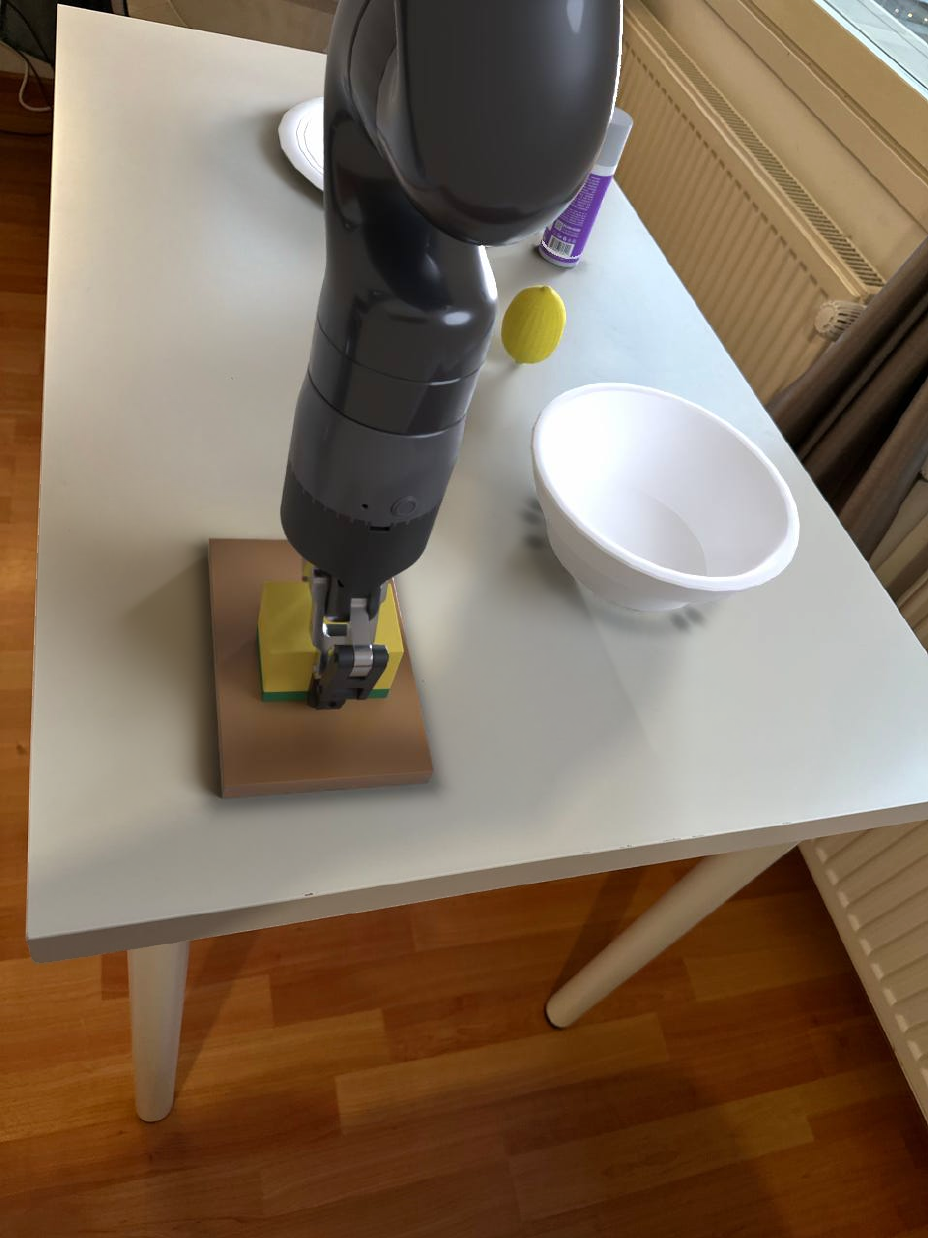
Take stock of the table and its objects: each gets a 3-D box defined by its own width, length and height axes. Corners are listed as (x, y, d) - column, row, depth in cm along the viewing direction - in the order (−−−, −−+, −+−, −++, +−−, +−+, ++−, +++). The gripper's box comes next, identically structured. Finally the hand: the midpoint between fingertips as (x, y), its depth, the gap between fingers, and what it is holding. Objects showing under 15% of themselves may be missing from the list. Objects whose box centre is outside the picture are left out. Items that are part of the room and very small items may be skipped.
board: (428, 783, 53) (435, 771, 51) (222, 799, 49) (223, 786, 47) (382, 555, 63) (386, 540, 61) (207, 552, 59) (208, 536, 57)
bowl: (764, 532, 76) (818, 463, 70) (715, 706, 62) (777, 639, 56) (549, 423, 77) (583, 345, 71) (455, 569, 64) (487, 489, 58)
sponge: (261, 702, 51) (270, 653, 47) (256, 632, 54) (263, 581, 50) (386, 698, 54) (404, 651, 50) (375, 631, 56) (391, 583, 53)
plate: (544, 167, 109) (549, 152, 108) (515, 284, 90) (521, 267, 89) (318, 83, 106) (320, 67, 105) (238, 186, 87) (240, 167, 86)
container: (586, 265, 97) (643, 125, 85) (555, 269, 94) (609, 126, 83) (561, 240, 99) (614, 101, 87) (530, 244, 96) (580, 101, 85)
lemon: (490, 338, 83) (517, 261, 77) (546, 352, 84) (576, 278, 78) (490, 373, 80) (517, 296, 74) (548, 387, 81) (579, 312, 75)
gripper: (277, 353, 44) (250, 572, 56) (304, 576, 35) (265, 773, 48) (422, 367, 46) (364, 574, 59) (478, 579, 38) (397, 765, 51)
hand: (320, 663), depth 54 cm, fingers closed on sponge, 5 cm apart
